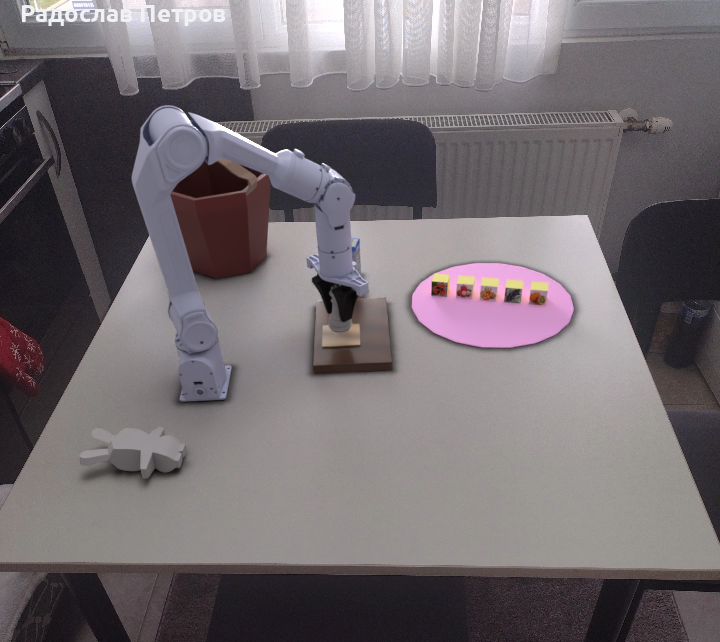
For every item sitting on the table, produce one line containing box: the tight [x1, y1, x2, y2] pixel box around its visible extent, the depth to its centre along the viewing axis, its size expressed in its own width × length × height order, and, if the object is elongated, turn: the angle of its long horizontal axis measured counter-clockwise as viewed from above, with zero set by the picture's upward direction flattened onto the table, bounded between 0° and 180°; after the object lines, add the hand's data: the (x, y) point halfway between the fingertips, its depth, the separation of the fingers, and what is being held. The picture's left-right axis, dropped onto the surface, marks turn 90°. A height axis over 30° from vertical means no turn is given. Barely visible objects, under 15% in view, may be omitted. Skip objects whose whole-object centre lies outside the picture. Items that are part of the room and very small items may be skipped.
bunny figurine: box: [79, 426, 187, 480], centre depth 106 cm, size 10×5×15 cm
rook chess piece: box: [329, 284, 352, 332], centre depth 123 cm, size 4×4×8 cm
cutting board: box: [312, 295, 393, 374], centre depth 131 cm, size 27×14×2 cm, turn 1°
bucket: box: [170, 158, 271, 280], centre depth 145 cm, size 24×22×25 cm
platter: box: [411, 262, 575, 349], centre depth 136 cm, size 32×32×3 cm
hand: (339, 315), depth 124 cm, fingers closed on rook chess piece, 3 cm apart
